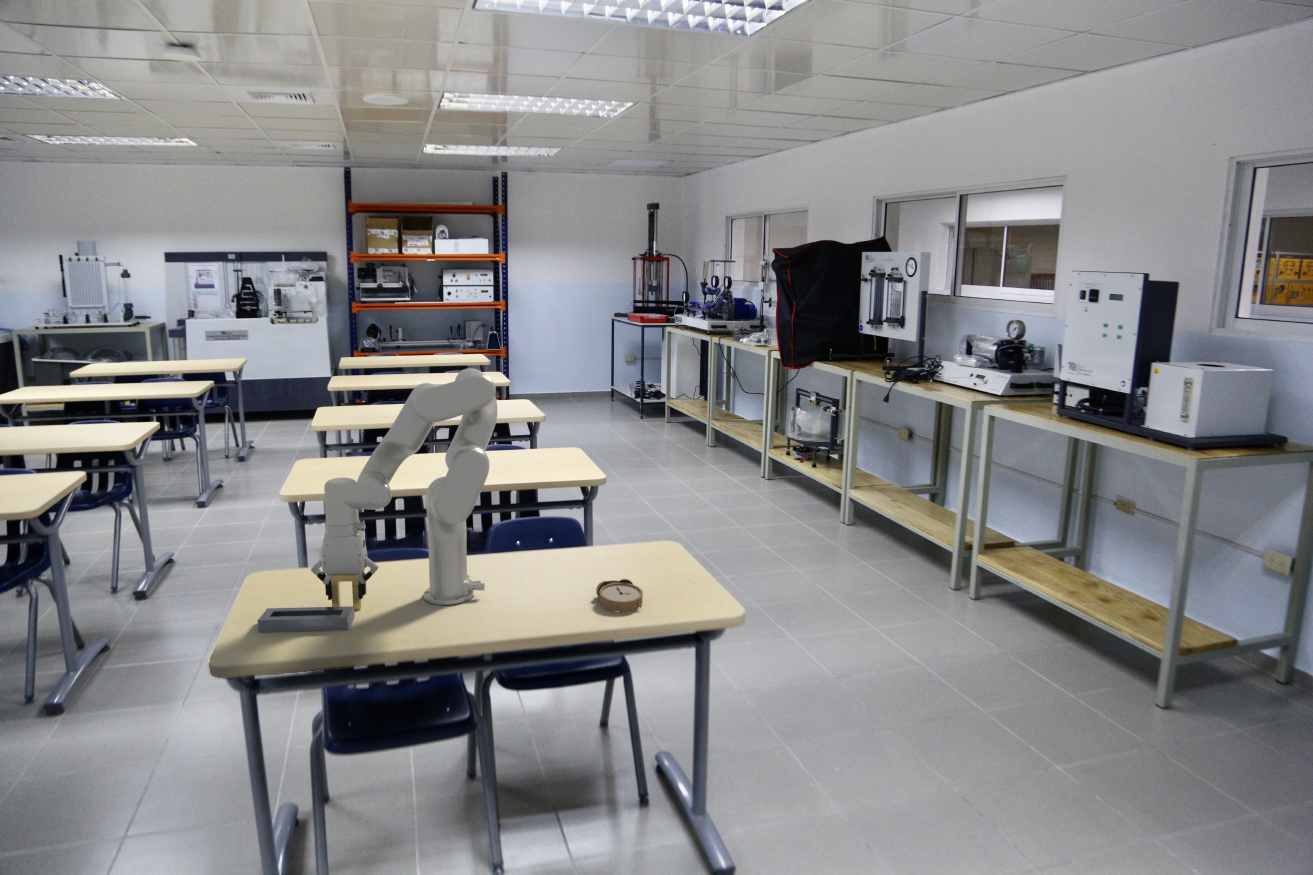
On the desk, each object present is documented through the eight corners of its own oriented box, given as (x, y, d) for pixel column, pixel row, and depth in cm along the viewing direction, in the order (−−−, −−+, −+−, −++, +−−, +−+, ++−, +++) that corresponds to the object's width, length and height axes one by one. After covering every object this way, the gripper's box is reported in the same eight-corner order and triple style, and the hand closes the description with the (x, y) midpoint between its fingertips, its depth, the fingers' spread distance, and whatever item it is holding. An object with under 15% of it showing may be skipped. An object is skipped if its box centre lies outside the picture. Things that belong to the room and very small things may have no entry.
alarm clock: (607, 605, 211) (590, 574, 224) (605, 621, 212) (589, 590, 225) (649, 599, 215) (630, 570, 228) (647, 616, 216) (629, 585, 229)
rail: (354, 617, 206) (353, 606, 205) (347, 629, 199) (347, 618, 198) (268, 619, 203) (267, 608, 203) (258, 632, 196) (257, 620, 196)
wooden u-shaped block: (361, 607, 212) (359, 572, 210) (360, 610, 210) (358, 575, 208) (333, 608, 211) (332, 573, 209) (332, 610, 209) (330, 575, 208)
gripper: (382, 523, 211) (385, 591, 215) (310, 524, 209) (314, 592, 213) (376, 533, 204) (379, 602, 207) (301, 533, 202) (305, 604, 205)
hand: (346, 596), depth 210 cm, fingers closed on wooden u-shaped block, 6 cm apart
